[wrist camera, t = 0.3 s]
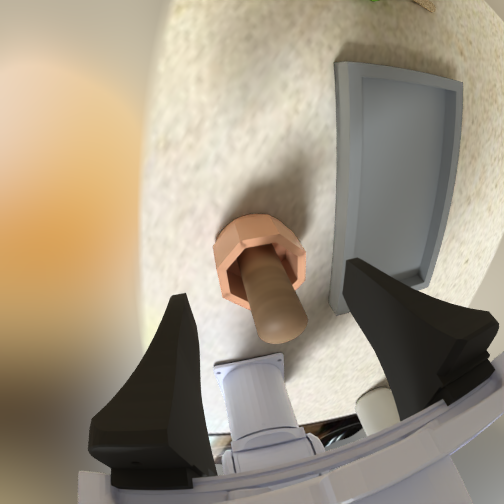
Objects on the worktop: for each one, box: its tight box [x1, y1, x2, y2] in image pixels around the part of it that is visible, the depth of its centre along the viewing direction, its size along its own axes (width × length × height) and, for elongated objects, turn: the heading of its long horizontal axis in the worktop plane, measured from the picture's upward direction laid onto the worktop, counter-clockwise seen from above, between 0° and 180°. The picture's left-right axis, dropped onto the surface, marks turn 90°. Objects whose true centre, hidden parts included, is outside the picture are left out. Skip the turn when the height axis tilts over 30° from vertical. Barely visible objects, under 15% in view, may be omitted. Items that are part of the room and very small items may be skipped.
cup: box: [213, 214, 306, 310], centre depth 22 cm, size 6×6×4 cm
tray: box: [329, 61, 463, 316], centre depth 22 cm, size 22×12×2 cm, turn 5°
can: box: [355, 387, 400, 448], centre depth 41 cm, size 8×8×12 cm
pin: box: [237, 243, 308, 344], centre depth 20 cm, size 3×3×8 cm
